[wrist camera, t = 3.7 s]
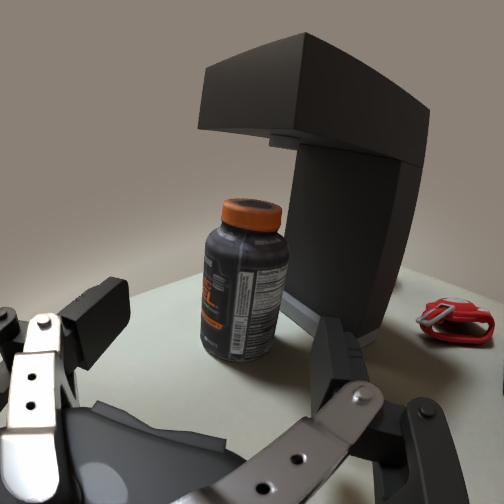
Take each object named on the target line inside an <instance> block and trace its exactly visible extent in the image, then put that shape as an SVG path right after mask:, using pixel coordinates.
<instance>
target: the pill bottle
mask: <svg viewBox="0 0 504 504" xmlns="http://www.w3.org/2000/svg"><path fill="white" fill-rule="evenodd" d="M281 215H282V208H281V207H280V206H278V205H276V204H273V203H270V202H266V201H261V200H254V199H229V200H226V201H224V203H223V210H222V215H221V220H222V224H221V226H220V227H219V228H217V229H215V230H213V231H212V232H211V233H210V234H209V236H208V237H207V239H206V243H205V256H204V273H203V292H202V311H201V333H200V338H201V341H202V343H203V345H204V346H205V348H206V349H207V350H208V351H210V352H211V353H212V354H214V355H216V356H217V357H220V358H222V359H225V360H229V361H237V362H245V361H251V360H255V359H258V358H260V357H262V356H264V355H265V354H267V353H268V351H269V350H270V349H271V347H272V344H273V339H274V334H275V329H276V324H277V319H278V314H279V310H280V305H281V300H282V295H283V291H284V286H285V280H286V274H287V267H288V261H289V254H290V248H289V244H288V243H287V241H286V239H285V238H284V237H283V236H281V235H280V234H278V233H277V231H278V229H279V228H280V225H281Z"/></svg>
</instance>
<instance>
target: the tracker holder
mask: <svg viewBox="0 0 504 504" xmlns="http://www.w3.org/2000/svg"><path fill="white" fill-rule="evenodd" d="M444 319H445V320H448V321H452V322H480V323H488V325H489V328H488V330H487V331H486V332H485V333H484V334H483V335H479V336H478V335H462V334H449V333H438V332H434V331H433V329H432V324H434V323H435V324H442V323H443V321H444ZM416 322H417V323H419V324H420V327H421V329H422V330H423V332H424V333H426V334H428V335H430V336H432V337H434V338H437V339H440V340H443V341H448V342H459V343H476V344H480V343H484V342H486V341H487V340H489V339H490V337H491V336H492V334H493V331H494V327H495V322H494V319H493V317H492V316H491V314H490V313H489V311H488V310H487V309H485V308H479V307H476V306H475V305H474V304H473V303H471V302H469V301H466V300H463V299H458V298H443V299H439V300H437V301H436V302H433V303H427V304H426V310H425V311H424V312H423V314H422V316H421V317H419V318H417V319H416Z"/></svg>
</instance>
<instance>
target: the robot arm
mask: <svg viewBox="0 0 504 504" xmlns="http://www.w3.org/2000/svg"><path fill="white" fill-rule="evenodd" d="M130 313H131V312H130V300H129V287H128V282H127V281H126V280H123V279H119V278H115V277H109V278H107V279H106V280H105V281H103V282H102V283H101V284H100V285H97V286H95V287H92V288H90V289H88V290H86V291H85V292H84V293H83V294H82V295H81V296H79V297H78V298H76V299H75V300H74V301H72V302H71V303H70V304H69V305H67V306H66V307H65V308H64V309H63V310H61V311H60V312H59V313H58V314H54V313H41V314H38V315H36V316H34V317H33V318H32V319H31V320H30V321H29V322H27V321H20V320H18V318H17V315H16V311H15V310H14V309H13V308H10V307H2V308H0V353H1V355H2V358H3V361H2V362H1V363H0V412H1V411H2V409H3V408H4V407H5V406H6V404H7V403H8V409H7V425H6V427H3V428H0V504H306V503H307V502H308V501H309V500H310V499H311V498H312V497H313V496H314V494H315V493H316V492H317V491H318V490H319V489H320V488H321V487H322V486H323V485H324V484H325V483H326V481H327V480H328V479H329V478H330V477H331V476H332V475H333V474H334V473H335V471H336V470H337V469H338V468H339V467H340V466H341V465H342V463H343V462H344V461H345V460H346V459H347V457H348V456H349V455H351V456H355V457H358V458H362V459H366V460H370V461H372V463H373V476H374V493H375V504H470V503H469V498H468V494H467V490H466V485H465V481H464V477H463V473H462V470H461V466H460V462H459V459H458V455H457V452H456V449H455V445H454V442H453V439H452V436H451V433H450V430H449V427H448V424H447V421H446V418H445V415H444V412H443V410H442V408H441V407H440V406H439V405H438V404H437V403H436V402H435V401H433V400H431V399H428V398H425V397H418V398H414V399H412V400H411V401H410V402H409V403H408V405H407V406H402V405H398V404H395V403H391V402H388V401H386V400H384V397H383V394H382V392H381V391H380V390H379V389H378V388H377V387H376V386H375V385H373V384H371V383H370V381H369V377H368V373H367V370H366V366H365V362H364V359H363V355H362V352H361V348H360V345H359V342H358V340H357V339H356V338H355V336H354V335H353V334H352V333H351V332H344V331H343V327H342V323H341V320H340V318H332V317H325V316H321V318H320V320H319V324H318V327H317V331H316V335H315V338H314V342H313V345H312V349H311V353H310V384H311V418H308V417H307V416H305V417H303V418H301V419H300V420H299V421H297V422H296V423H295V424H294V425H293V426H292V427H290V428H289V429H288V430H287V431H286V432H284V433H283V434H282V435H281V436H279V437H278V438H277V439H276V440H274V441H273V442H272V443H271V444H269V445H268V446H267V447H265V448H264V449H263V450H262V451H260V452H259V453H258V454H256V455H255V456H254V457H252V458H251V459H249V460H248V461H247V460H245V459H244V458H242V457H241V456H239V455H237V454H235V453H234V452H232V451H229V450H227V449H225V448H226V440H227V439H222V438H217V437H213V436H208V435H204V434H199V433H195V432H191V431H174V430H162V429H155V428H152V427H150V426H148V425H147V424H145V423H143V422H142V421H140V420H138V419H137V418H135V417H134V416H132V415H130V414H129V413H127V412H126V411H124V410H121V409H118V408H116V407H113V406H111V405H108V404H106V403H103V402H101V401H98V400H97V401H96V403H95V404H94V406H93V407H92V408H89V407H80V405H79V397H78V388H77V378H76V372H75V369H76V368H77V367H80V368H82V369H85V370H87V371H89V369H90V368H91V367H92V366H93V365H94V363H95V362H96V361H97V360H98V359H99V357H100V356H101V355H102V354H103V353H104V351H105V350H106V349H107V348H108V347H109V346H110V344H111V343H112V342H113V341H114V340H115V339H116V337H117V336H118V335H119V334H120V333H121V332H122V330H123V329H124V328H125V327H126V326H127V324H128V322H129V320H130Z"/></svg>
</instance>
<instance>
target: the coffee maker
mask: <svg viewBox="0 0 504 504" xmlns="http://www.w3.org/2000/svg"><path fill="white" fill-rule="evenodd" d="M429 116H430V110H429V109H428V108H427V107H426V106H424V105H423V104H422V103H420V102H419V101H418V100H417V99H415V98H414V97H413V96H411V95H410V94H409V93H407V92H406V91H405V90H403V89H402V88H401V87H399V86H398V85H396V84H395V83H394V82H392V81H390V80H389V79H388V78H386V77H385V76H383V75H381V74H380V73H379V72H377V71H376V70H374V69H372V68H371V67H369V66H367V65H366V64H364V63H363V62H361V61H359V60H358V59H356V58H354V57H353V56H351V55H349V54H347V53H346V52H343V51H342V50H340V49H338V48H336V47H335V46H333V45H331V44H329V43H327V42H325V41H323V40H321V39H319V38H317V37H315V36H313V35H310V34H309V33H307V32H304V33H300V34H297V35H293V36H290V37H287V38H283V39H280V40H277V41H274V42H271V43H268V44H266V45H262V46H259V47H257V48H254V49H251V50H248V51H246V52H243V53H241V54H238V55H235V56H233V57H231V58H228V59H226V60H223V61H221V62H219V63H216V64H214V65H212V66H210V67H208V68H206V71H205V77H204V84H203V91H202V99H201V106H200V113H199V121H198V129H201V130H212V131H221V132H229V133H237V134H244V135H251V136H258V137H265V138H270V140H269V146H270V147H276V148H283V149H290V150H297V156H296V163H295V170H294V177H293V184H292V190H291V197H290V203H289V210H288V216H287V223H286V229H285V235H284V238H285V239H286V241H287V243H288V244H289V248H290V254H289V261H288V267H287V274H286V280H285V286H284V291H283V295H282V300H281V305H280V310H281V311H282V312H283V313H284V314H286V315H287V316H288V317H289V318H291V319H292V320H293V321H294V322H296V323H297V324H298V325H299V326H301V327H302V328H303V329H304V330H306V331H307V332H308V333H310V334H311V335H312V336H313V337H315V335H316V331H317V327H318V324H319V320H320V318H321V316H325V317H332V318H340V320H341V323H342V327H343V331H344V332H351V333H352V334H353V335H354V336H355V338H356V339H357V340H358V342H359V345H360V348H362V347H364V346H366V345H368V344H370V343H371V342H373V341H375V338H376V336H377V333H378V331H379V327H380V325H381V323H382V320H383V317H384V314H385V312H386V309H387V306H388V303H389V300H390V297H391V294H392V291H393V288H394V285H395V282H396V279H397V276H398V272H399V269H400V266H401V262H402V259H403V255H404V252H405V248H406V244H407V240H408V237H409V233H410V228H411V224H412V220H413V216H414V211H415V207H416V202H417V197H418V192H419V187H420V182H421V176H422V168H423V164H424V158H425V151H426V144H427V136H428V126H429Z"/></svg>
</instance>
